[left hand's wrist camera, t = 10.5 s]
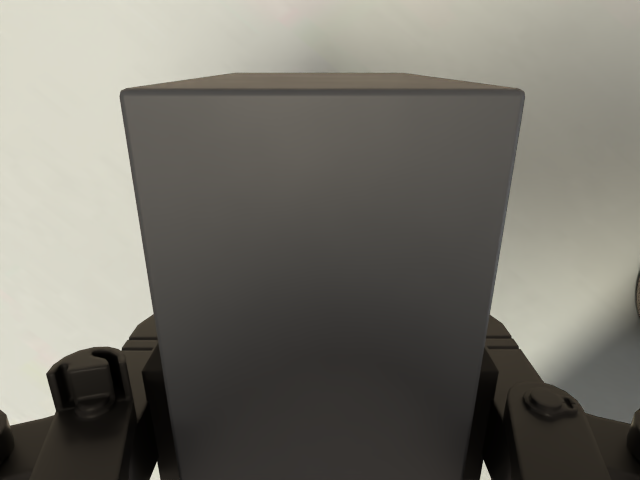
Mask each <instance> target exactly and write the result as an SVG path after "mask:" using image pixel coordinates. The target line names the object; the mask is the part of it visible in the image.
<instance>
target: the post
mask: <svg viewBox="0 0 640 480" xmlns="http://www.w3.org/2000/svg"><path fill="white" fill-rule="evenodd" d="M524 100H525V94H524V91H523V90H520V89H518V88H511V87H503V86H496V85H488V84H481V83H474V82H466V81H459V80H451V79H444V78H436V77H429V76H421V75H414V74H406V73H231V74H224V75H217V76H210V77H203V78H196V79H189V80H182V81H175V82H167V83H160V84H153V85H146V86H139V87H132V88H126V89H124V90H122V91H121V92H120V102H121V108H122V115H123V121H124V127H125V134H126V140H127V147H128V153H129V159H130V166H131V172H132V178H133V185H134V191H135V198H136V204H137V210H138V217H139V223H140V229H141V236H142V242H143V248H144V255H145V261H146V268H147V274H148V280H149V287H150V293H151V299H152V306H153V312H154V318H155V325H156V331H157V338H158V344H159V350H160V357H161V363H162V369H163V376H164V382H165V388H166V395H167V401H168V408H169V414H170V420H171V427H172V433H173V439H174V446H175V452H176V458H177V465H178V471H179V478H180V480H463V475H464V469H465V463H466V457H467V451H468V445H469V438H470V432H471V426H472V420H473V414H474V408H475V402H476V395H477V389H478V383H479V377H480V371H481V365H482V358H483V352H484V346H485V340H486V334H487V328H488V322H489V315H490V309H491V303H492V297H493V291H494V285H495V278H496V272H497V266H498V260H499V254H500V248H501V241H502V235H503V229H504V223H505V217H506V211H507V205H508V198H509V192H510V186H511V180H512V174H513V168H514V161H515V155H516V149H517V143H518V137H519V131H520V124H521V118H522V112H523V106H524Z"/></svg>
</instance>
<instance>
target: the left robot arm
mask: <svg viewBox="0 0 640 480" xmlns="http://www.w3.org/2000/svg"><path fill="white" fill-rule="evenodd" d="M637 309H638V313H639V317H640V278H639V282H638V287H637ZM46 375H47V379H48V383H49V386H50V390H51V394H52V397H53V401H54V405H55V408H56V413H55V415H53V416H50V417H47V418H43V419H39V420H34V421H30V422H25V423H21V424H16V425H12V426H10V425H9V422H8V419H7V416H6V414H5V413H4V412H2V411H1V410H0V480H150V477H151V475H152V472H153V470H154V467H155V465H156V462H158V468H159V474H160V479H161V480H180V478H179V471H178V465H177V458H176V452H175V446H174V439H173V433H172V427H171V420H170V414H169V408H168V401H167V395H166V388H165V382H164V376H163V369H162V363H161V357H160V350H159V344H158V338H157V331H156V325H155V318H154V314H153V315H152V316H150V317H149V318H147V319H146V320H145V321H143V322H142V323H140V324H139V325H138V326H137V327H136V329H135V330H134V331H133V333H132V334H131V336H130V337H129V340H127V341H126V343H125V344H124V346H123V347H122V351H120V350H119V349H115V348H111V347H93V348H89V349H84V350H80V351H77V352H75V353H73V354H70V355H68V356H66V357H64V358H63V359H61V360H60V361H58V362H57V363H55V364H54V365H53V366H52V367H51V369H50V370H49V371H48V372H47V374H46ZM483 460H484V462H485V464H486V467H487V469H488V472H489V474H490V477H491V480H640V409H639V410H638V411H636V412H635V414H634V417H633V420H632V423H631V424H628V423H624V422H619V421H615V420H610V419H606V418H601V417H597V416H593V415H590V414H586V413H585V412H584V410H583V408H582V407H581V405H580V404H579V403H578V401H577V400H576V399H575V398H573V397H572V396H571V395H569V394H568V393H567V392H565V391H563V390H561V389H559V388H557V387H555V386H553V385H550V384H546V383H544V382H543V381H542V379H541V378H540V376H539V375H538V373H537V372H536V371H535V369H534V368H533V366H532V365H531V363H530V362H529V361H528V359H527V358H526V356H525V355H524V353H523V352H522V351H521V349H519V346H518V345H517V343H516V342H515V341H514V339H512V338H511V335H510V334H509V332H508V331H507V329H506V328H505V326H504V325H503V324H502V323H501V322H499V321H498V320H497V319H495V318H494V317H492V316H491V315H489V322H488V328H487V334H486V340H485V346H484V352H483V358H482V365H481V371H480V377H479V383H478V389H477V395H476V402H475V408H474V414H473V420H472V426H471V432H470V438H469V445H468V451H467V457H466V463H465V469H464V475H463V480H480V475H481V470H482V464H483Z"/></svg>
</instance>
